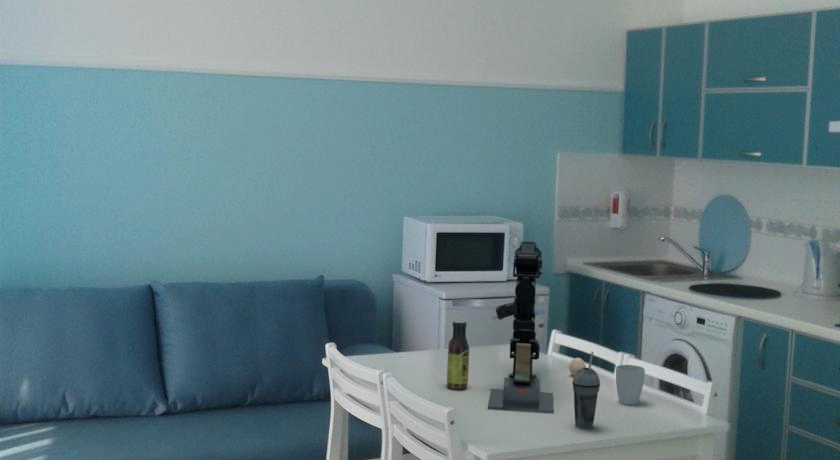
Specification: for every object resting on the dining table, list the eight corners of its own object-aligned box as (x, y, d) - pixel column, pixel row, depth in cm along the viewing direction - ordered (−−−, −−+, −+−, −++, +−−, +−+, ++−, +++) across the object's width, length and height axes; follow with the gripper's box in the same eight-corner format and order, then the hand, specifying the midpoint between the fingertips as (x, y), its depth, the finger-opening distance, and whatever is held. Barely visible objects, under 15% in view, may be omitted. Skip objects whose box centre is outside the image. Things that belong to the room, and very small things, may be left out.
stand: (490, 391, 294) (491, 373, 293) (552, 395, 292) (553, 377, 291) (487, 409, 276) (488, 389, 275) (553, 413, 274) (554, 393, 273)
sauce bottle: (465, 391, 293) (468, 324, 291) (444, 389, 294) (447, 323, 292) (469, 385, 300) (471, 320, 297) (448, 383, 301) (451, 318, 298)
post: (515, 377, 285) (516, 342, 284) (529, 378, 285) (531, 343, 284) (514, 381, 281) (516, 346, 280) (529, 382, 281) (530, 347, 280)
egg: (573, 378, 311) (574, 360, 311) (565, 374, 316) (566, 356, 315) (588, 377, 313) (589, 359, 312) (580, 373, 318) (581, 355, 317)
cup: (644, 400, 290) (646, 366, 288) (641, 408, 282) (643, 373, 281) (616, 397, 292) (618, 363, 291) (612, 404, 285) (614, 369, 283)
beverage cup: (567, 422, 267) (570, 348, 264) (594, 422, 267) (598, 348, 265) (573, 430, 259) (577, 354, 257) (601, 430, 260) (605, 355, 258)
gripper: (499, 288, 302) (497, 339, 304) (496, 299, 284) (494, 353, 286) (536, 290, 301) (534, 341, 303) (536, 301, 283) (533, 355, 284)
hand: (523, 347), depth 294 cm, fingers open, 9 cm apart
